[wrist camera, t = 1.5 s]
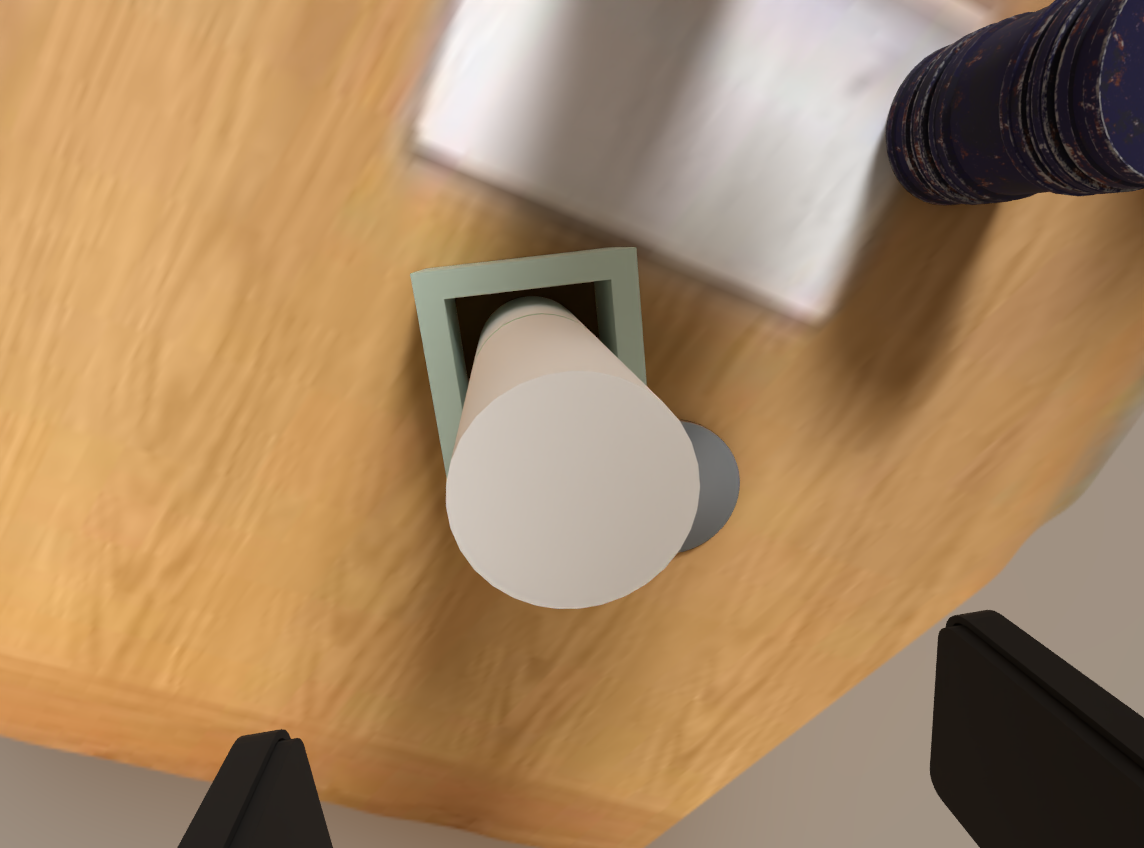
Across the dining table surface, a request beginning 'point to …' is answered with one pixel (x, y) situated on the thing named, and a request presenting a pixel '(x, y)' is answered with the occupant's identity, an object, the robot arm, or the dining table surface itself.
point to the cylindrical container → (565, 465)
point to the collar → (444, 284)
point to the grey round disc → (711, 484)
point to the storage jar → (1026, 108)
